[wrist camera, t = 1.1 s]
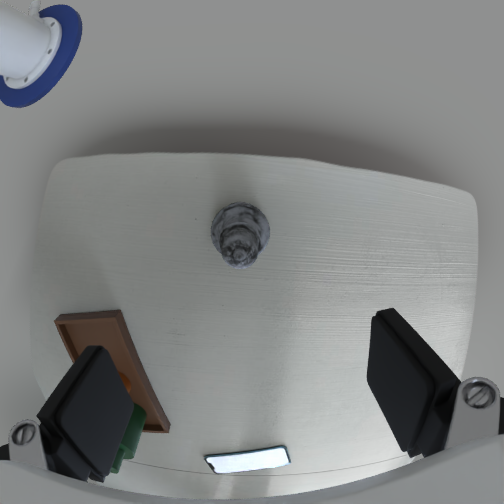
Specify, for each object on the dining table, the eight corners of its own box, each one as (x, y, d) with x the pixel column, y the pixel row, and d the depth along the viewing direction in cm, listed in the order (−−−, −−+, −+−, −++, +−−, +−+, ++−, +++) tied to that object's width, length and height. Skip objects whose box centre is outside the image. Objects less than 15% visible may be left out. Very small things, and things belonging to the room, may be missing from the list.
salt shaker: (226, 191, 31) (216, 203, 19) (275, 212, 32) (294, 237, 20) (206, 239, 32) (187, 278, 21) (254, 258, 33) (260, 307, 21)
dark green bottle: (113, 400, 39) (87, 457, 26) (140, 401, 39) (118, 463, 26) (125, 419, 40) (104, 475, 28) (151, 421, 40) (134, 480, 28)
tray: (60, 314, 35) (53, 320, 33) (120, 309, 34) (115, 317, 32) (116, 421, 41) (112, 429, 39) (170, 424, 41) (168, 433, 39)
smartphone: (285, 444, 43) (202, 455, 44) (285, 446, 43) (202, 457, 43) (291, 462, 46) (215, 472, 46) (291, 464, 45) (215, 474, 45)
